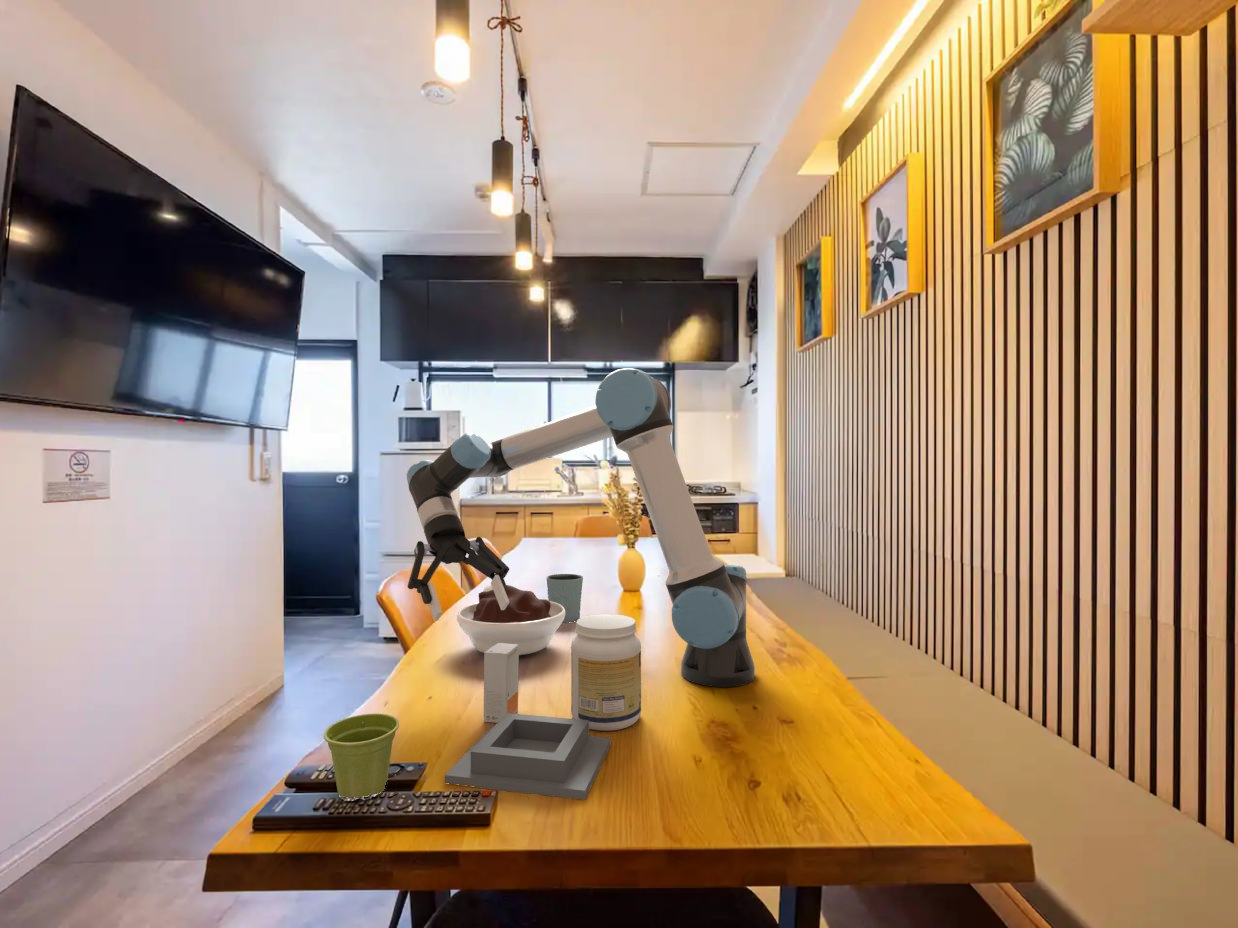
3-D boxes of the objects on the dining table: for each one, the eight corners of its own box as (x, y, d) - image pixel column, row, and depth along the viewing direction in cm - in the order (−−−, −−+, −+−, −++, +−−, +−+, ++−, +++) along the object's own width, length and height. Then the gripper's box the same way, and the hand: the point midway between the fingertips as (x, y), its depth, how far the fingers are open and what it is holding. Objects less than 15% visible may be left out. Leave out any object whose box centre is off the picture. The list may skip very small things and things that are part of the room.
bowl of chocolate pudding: (576, 638, 157) (576, 578, 157) (548, 671, 132) (548, 600, 132) (482, 633, 161) (482, 574, 161) (437, 664, 137) (437, 595, 137)
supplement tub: (654, 723, 106) (654, 624, 106) (590, 739, 100) (590, 633, 100) (619, 699, 117) (619, 608, 117) (559, 712, 111) (559, 616, 111)
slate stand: (610, 745, 98) (610, 718, 98) (585, 799, 83) (585, 767, 83) (490, 733, 102) (491, 708, 102) (444, 783, 87) (444, 753, 87)
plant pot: (353, 818, 78) (353, 749, 78) (309, 796, 83) (308, 731, 83) (413, 785, 86) (413, 722, 86) (370, 767, 91) (370, 708, 91)
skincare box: (506, 724, 106) (506, 653, 106) (482, 722, 107) (482, 652, 107) (519, 710, 112) (519, 643, 112) (496, 708, 113) (496, 642, 113)
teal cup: (542, 622, 171) (542, 579, 171) (552, 614, 181) (552, 572, 181) (578, 624, 170) (578, 580, 170) (586, 615, 180) (586, 573, 180)
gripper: (490, 531, 139) (523, 612, 128) (375, 540, 124) (401, 633, 112) (502, 509, 135) (537, 591, 123) (384, 515, 119) (412, 609, 108)
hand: (473, 611), depth 118 cm, fingers open, 13 cm apart
